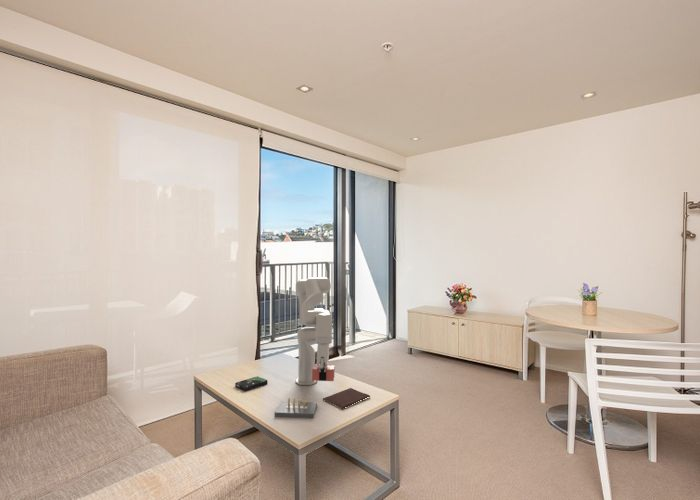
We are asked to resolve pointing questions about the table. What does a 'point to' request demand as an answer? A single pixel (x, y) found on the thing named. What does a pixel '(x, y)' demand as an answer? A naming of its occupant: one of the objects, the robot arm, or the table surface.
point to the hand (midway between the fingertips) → (323, 377)
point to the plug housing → (328, 373)
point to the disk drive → (251, 383)
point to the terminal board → (296, 409)
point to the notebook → (346, 398)
